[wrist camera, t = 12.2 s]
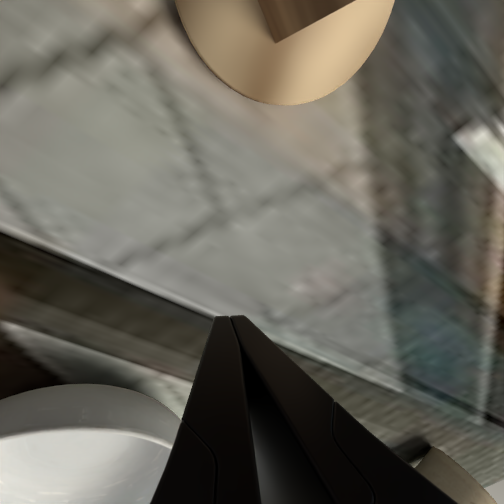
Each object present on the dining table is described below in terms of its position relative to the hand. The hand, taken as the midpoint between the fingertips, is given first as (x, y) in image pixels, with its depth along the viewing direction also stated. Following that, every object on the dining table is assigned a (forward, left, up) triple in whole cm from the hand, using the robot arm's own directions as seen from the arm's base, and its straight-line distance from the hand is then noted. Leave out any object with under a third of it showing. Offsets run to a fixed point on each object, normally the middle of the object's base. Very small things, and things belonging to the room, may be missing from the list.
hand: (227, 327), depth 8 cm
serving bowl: (-9, -23, -13) cm, 28 cm away
